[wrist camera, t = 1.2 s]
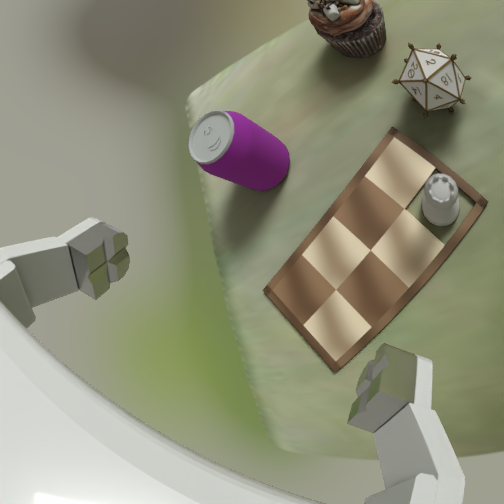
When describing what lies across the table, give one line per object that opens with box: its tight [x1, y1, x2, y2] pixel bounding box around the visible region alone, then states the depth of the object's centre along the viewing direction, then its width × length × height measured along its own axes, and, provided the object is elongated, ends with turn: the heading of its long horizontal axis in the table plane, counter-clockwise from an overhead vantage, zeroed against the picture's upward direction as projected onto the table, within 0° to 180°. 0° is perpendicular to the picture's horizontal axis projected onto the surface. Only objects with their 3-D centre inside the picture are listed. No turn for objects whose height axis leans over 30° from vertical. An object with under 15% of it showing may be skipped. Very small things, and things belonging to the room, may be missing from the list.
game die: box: [392, 43, 471, 118], centre depth 25 cm, size 9×8×10 cm
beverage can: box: [189, 110, 290, 191], centre depth 37 cm, size 8×8×12 cm
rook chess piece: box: [422, 173, 460, 226], centre depth 26 cm, size 4×4×8 cm
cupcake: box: [308, 0, 386, 58], centre depth 30 cm, size 10×10×10 cm
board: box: [263, 127, 488, 372], centre depth 33 cm, size 26×14×1 cm, turn 137°
